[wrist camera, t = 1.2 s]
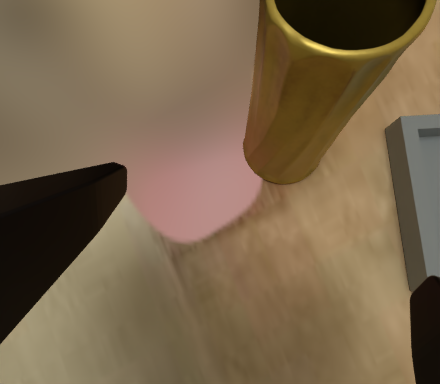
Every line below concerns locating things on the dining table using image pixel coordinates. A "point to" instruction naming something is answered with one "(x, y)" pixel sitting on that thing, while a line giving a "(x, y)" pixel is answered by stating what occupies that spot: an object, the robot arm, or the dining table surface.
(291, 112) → the vase
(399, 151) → the tray
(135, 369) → the dining table surface
